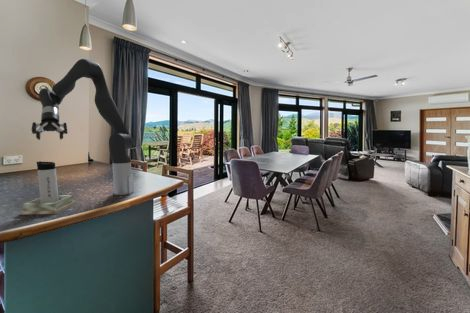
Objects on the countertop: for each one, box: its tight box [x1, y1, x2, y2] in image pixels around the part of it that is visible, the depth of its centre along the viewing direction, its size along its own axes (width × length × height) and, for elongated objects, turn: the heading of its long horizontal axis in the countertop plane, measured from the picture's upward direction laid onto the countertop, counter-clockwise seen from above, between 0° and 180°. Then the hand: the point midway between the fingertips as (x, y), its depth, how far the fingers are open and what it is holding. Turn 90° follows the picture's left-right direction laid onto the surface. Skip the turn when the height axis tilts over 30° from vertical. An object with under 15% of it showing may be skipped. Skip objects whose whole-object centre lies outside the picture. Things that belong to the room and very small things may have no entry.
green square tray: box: [19, 194, 77, 216], centre depth 102 cm, size 14×14×4 cm
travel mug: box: [36, 161, 59, 203], centre depth 101 cm, size 6×7×20 cm
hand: (50, 138), depth 114 cm, fingers open, 8 cm apart
